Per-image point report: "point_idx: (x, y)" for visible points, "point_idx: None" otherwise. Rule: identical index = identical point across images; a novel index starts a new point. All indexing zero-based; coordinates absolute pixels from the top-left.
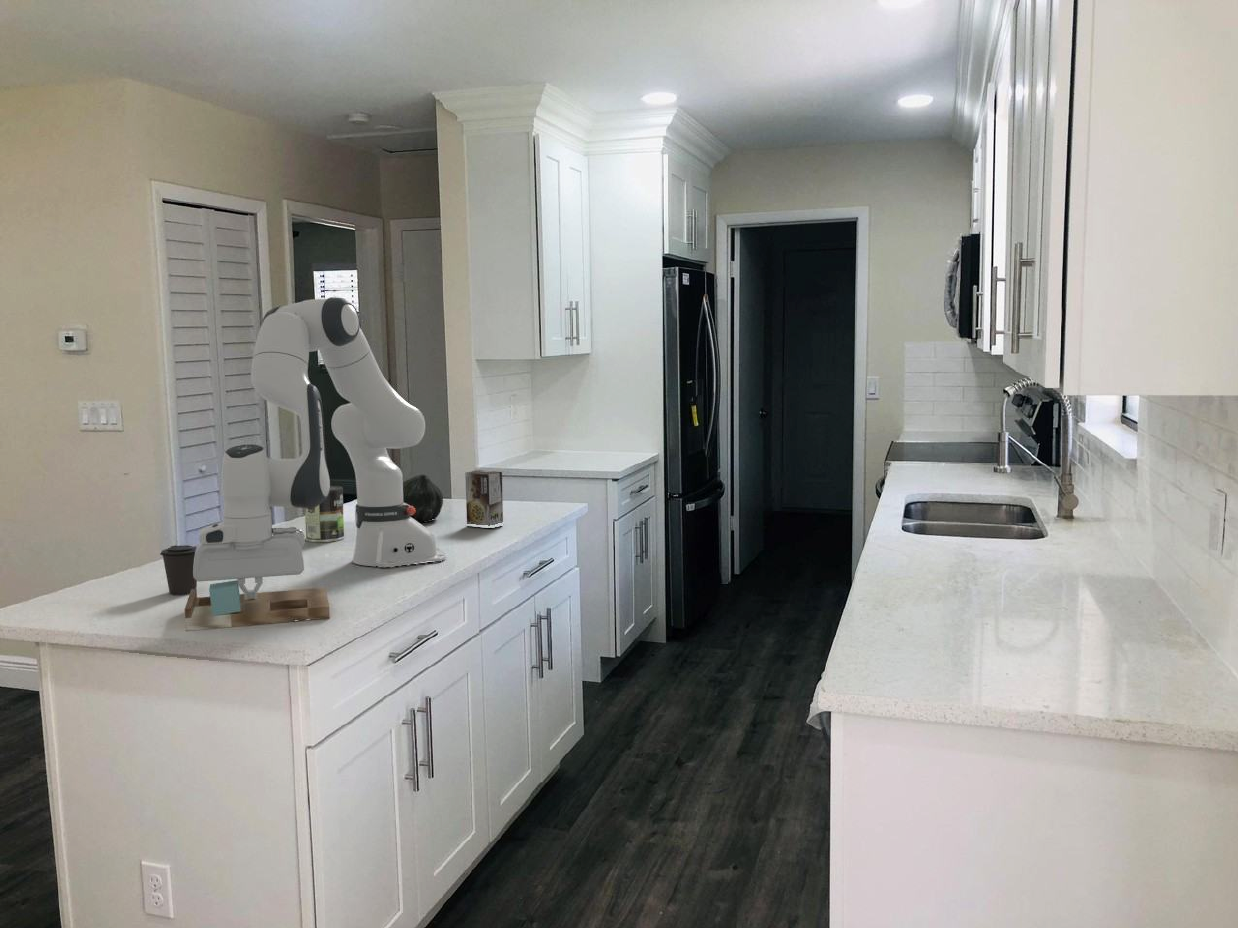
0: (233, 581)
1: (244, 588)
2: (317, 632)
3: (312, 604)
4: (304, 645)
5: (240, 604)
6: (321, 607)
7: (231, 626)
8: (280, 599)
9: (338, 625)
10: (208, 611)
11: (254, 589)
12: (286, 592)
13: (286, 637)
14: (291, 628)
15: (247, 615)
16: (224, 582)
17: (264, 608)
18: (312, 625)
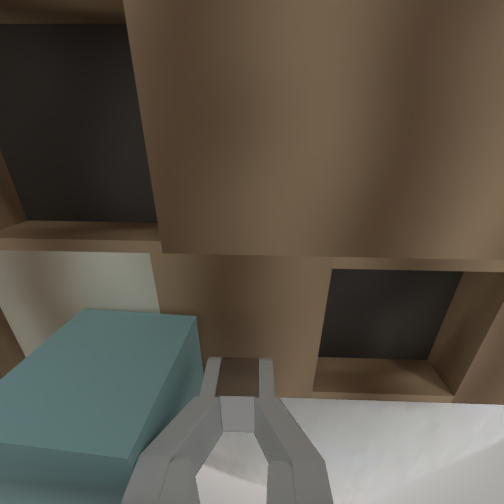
0: (104, 468)
1: (202, 458)
2: (404, 450)
3: (491, 365)
4: (351, 500)
5: (196, 358)
6: (500, 403)
7: None
8: (393, 236)
9: (477, 423)
10: None
11: (260, 439)
12: (490, 42)
13: (327, 459)
14: (353, 411)
15: None
16: (38, 454)
17: (295, 360)
18: (414, 405)
